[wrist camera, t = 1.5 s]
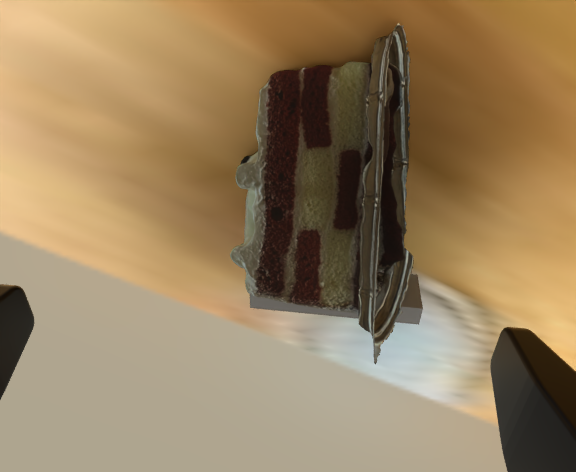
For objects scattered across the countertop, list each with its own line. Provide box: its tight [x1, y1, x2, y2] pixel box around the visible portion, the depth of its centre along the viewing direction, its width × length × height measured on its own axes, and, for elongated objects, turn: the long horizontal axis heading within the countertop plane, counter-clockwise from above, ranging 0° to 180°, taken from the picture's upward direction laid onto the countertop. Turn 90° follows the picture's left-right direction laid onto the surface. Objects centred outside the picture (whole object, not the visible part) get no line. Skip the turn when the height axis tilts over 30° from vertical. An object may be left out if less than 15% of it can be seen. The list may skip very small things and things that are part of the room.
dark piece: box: [230, 23, 413, 364], centre depth 21 cm, size 10×7×12 cm
